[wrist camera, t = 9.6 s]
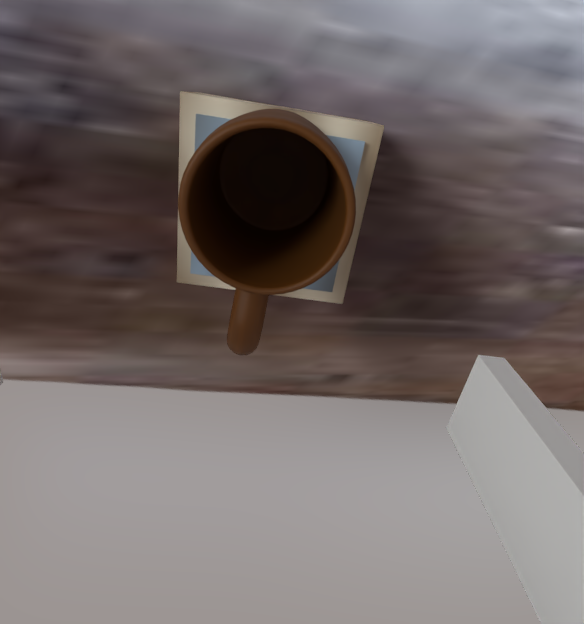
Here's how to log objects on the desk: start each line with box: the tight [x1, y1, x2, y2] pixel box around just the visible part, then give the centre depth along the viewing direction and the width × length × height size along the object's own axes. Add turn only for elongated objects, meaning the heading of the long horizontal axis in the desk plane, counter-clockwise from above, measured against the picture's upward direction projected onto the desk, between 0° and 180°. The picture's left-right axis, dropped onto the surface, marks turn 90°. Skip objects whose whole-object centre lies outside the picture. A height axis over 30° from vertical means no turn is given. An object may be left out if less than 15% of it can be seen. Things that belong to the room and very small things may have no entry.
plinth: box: [177, 91, 384, 304], centre depth 28 cm, size 12×12×6 cm
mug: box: [178, 109, 356, 355], centre depth 22 cm, size 12×8×9 cm, turn 167°
